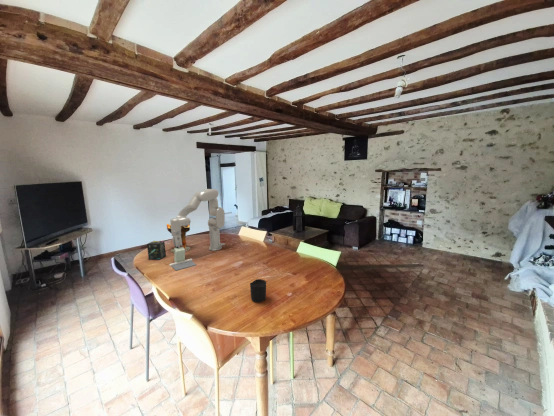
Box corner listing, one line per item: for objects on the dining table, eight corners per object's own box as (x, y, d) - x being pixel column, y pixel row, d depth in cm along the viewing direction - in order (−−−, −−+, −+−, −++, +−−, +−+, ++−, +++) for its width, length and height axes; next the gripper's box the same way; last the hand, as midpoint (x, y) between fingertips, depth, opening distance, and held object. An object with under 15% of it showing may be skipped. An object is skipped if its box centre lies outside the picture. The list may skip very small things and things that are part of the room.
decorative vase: (188, 252, 214) (185, 223, 210) (164, 253, 214) (160, 225, 210) (196, 245, 234) (193, 219, 230) (175, 247, 235) (171, 220, 231)
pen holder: (267, 301, 130) (267, 285, 129) (251, 304, 128) (250, 287, 127) (265, 293, 139) (264, 278, 138) (249, 295, 137) (249, 280, 136)
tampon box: (166, 256, 206) (164, 240, 204) (160, 260, 197) (158, 243, 195) (155, 255, 207) (153, 240, 205) (148, 259, 198) (146, 243, 196)
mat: (191, 261, 193) (191, 260, 193) (196, 265, 184) (196, 264, 184) (171, 266, 183) (171, 265, 183) (176, 270, 174) (175, 270, 174)
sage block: (182, 258, 196) (183, 246, 192) (184, 261, 193) (185, 249, 188) (174, 260, 192) (174, 248, 187) (176, 263, 188) (176, 251, 184)
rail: (191, 260, 195) (191, 258, 195) (192, 260, 194) (192, 259, 194) (169, 265, 184) (169, 264, 184) (170, 266, 182) (170, 264, 182)
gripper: (183, 233, 187) (185, 254, 190) (178, 230, 198) (179, 250, 201) (174, 235, 182) (176, 257, 185) (169, 232, 193) (170, 252, 196)
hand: (178, 253), depth 193 cm, fingers closed
